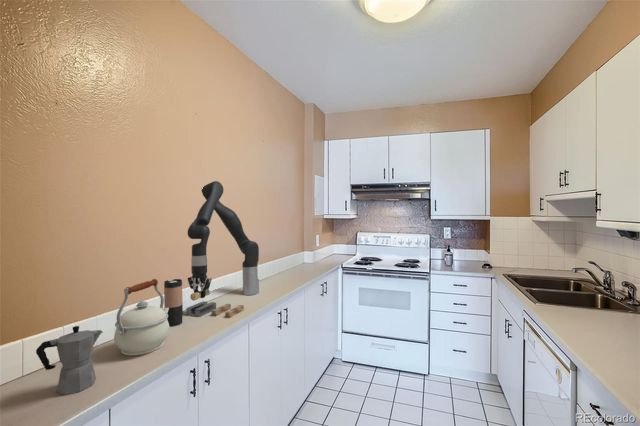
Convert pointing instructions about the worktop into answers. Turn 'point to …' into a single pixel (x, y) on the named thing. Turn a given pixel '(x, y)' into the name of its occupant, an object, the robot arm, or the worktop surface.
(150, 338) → the kettle
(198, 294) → the axle
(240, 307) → the parallel bars
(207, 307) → the v block
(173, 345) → the worktop surface
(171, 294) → the travel mug
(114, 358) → the worktop surface
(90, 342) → the coffeepot
